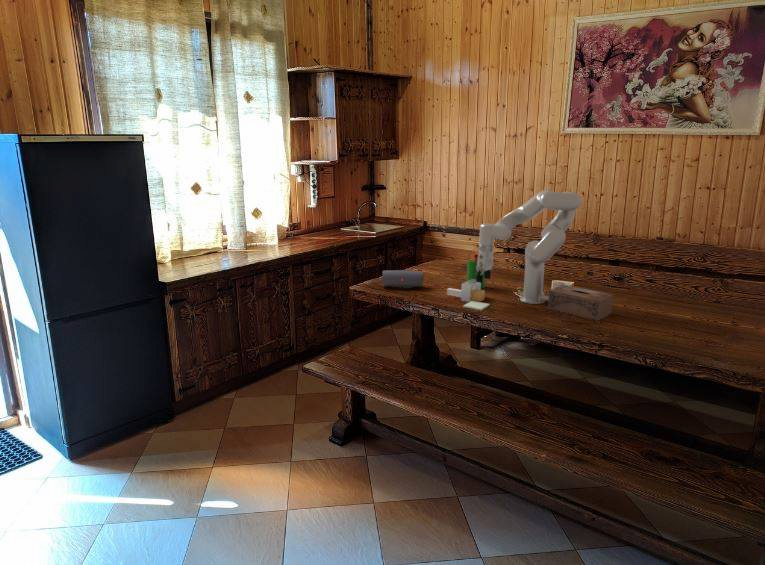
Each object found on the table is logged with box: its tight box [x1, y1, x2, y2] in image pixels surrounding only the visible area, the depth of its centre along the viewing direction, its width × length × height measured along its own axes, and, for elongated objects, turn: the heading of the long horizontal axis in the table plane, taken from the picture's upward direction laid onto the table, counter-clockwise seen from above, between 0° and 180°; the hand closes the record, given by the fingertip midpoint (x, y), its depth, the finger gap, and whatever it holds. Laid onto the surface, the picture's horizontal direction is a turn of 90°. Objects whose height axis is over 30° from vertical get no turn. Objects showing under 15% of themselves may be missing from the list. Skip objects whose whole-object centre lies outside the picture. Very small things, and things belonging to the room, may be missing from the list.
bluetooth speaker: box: [381, 269, 424, 289], centre depth 310 cm, size 23×9×10 cm, turn 83°
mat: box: [462, 300, 491, 311], centre depth 276 cm, size 10×10×1 cm
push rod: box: [446, 287, 461, 298], centre depth 293 cm, size 15×2×4 cm, turn 56°
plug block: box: [472, 289, 486, 303], centre depth 287 cm, size 5×5×5 cm
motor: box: [466, 252, 486, 290], centre depth 309 cm, size 10×9×20 cm
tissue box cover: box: [547, 284, 614, 321], centre depth 267 cm, size 26×14×10 cm, turn 45°
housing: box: [460, 279, 482, 303], centre depth 289 cm, size 5×13×9 cm, turn 145°
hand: (483, 280), depth 283 cm, fingers open, 9 cm apart
